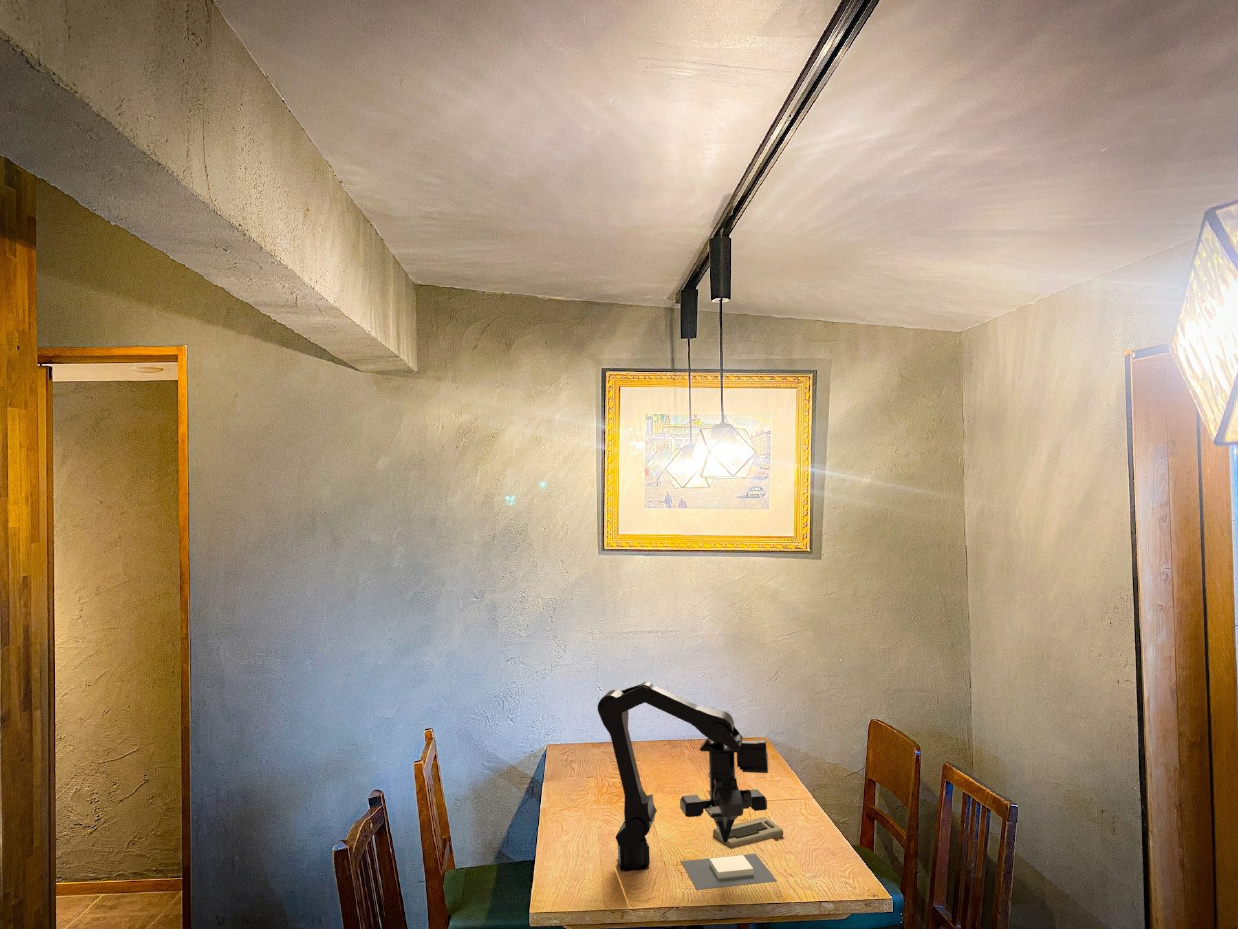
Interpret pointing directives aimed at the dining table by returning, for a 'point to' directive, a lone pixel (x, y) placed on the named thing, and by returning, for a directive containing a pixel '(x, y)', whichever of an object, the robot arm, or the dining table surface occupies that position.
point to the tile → (731, 867)
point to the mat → (707, 879)
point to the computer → (751, 832)
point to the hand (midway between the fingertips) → (724, 842)
